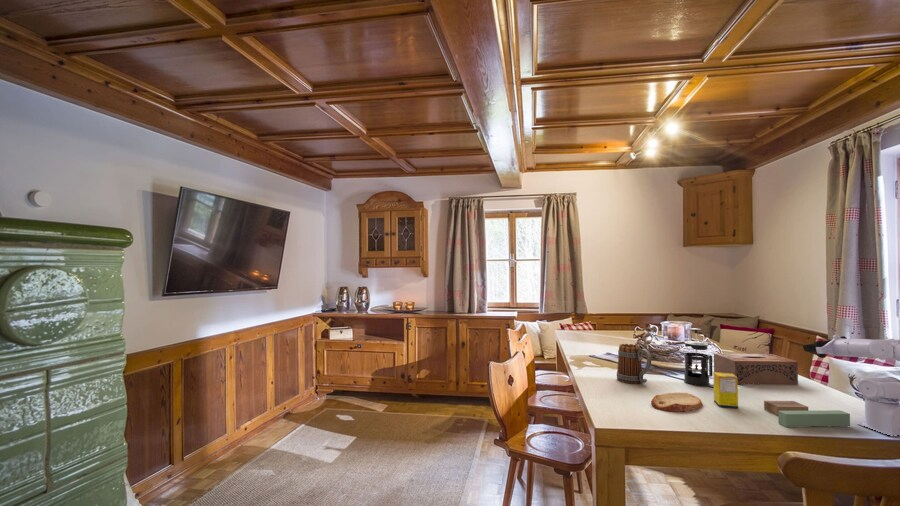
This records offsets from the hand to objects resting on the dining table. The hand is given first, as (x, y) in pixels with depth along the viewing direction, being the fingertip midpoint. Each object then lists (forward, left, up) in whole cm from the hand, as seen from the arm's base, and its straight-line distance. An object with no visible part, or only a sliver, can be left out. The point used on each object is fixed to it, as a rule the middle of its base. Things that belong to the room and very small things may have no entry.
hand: (813, 346), depth 146 cm
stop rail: (-17, +16, -21) cm, 31 cm away
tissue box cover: (+34, -4, -22) cm, 40 cm away
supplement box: (+2, +31, -21) cm, 38 cm away
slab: (-6, +16, -22) cm, 28 cm away
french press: (+29, +24, -21) cm, 43 cm away
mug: (+31, +50, -21) cm, 62 cm away
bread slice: (+3, +48, -22) cm, 53 cm away
